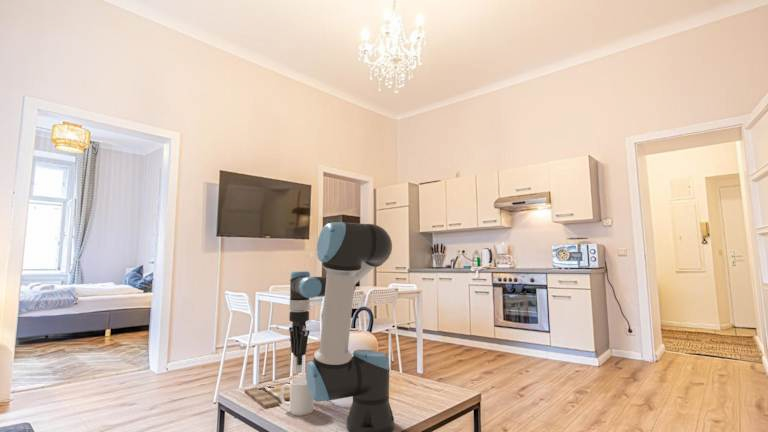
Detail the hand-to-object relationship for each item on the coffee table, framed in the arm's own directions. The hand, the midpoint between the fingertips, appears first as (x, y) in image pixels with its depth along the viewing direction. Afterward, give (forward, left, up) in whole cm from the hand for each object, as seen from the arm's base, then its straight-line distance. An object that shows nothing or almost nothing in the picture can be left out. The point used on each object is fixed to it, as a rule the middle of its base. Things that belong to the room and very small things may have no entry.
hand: (297, 373), depth 152 cm
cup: (-12, +6, -9) cm, 17 cm away
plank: (+7, +3, -9) cm, 11 cm away
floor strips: (+7, +12, -9) cm, 16 cm away
